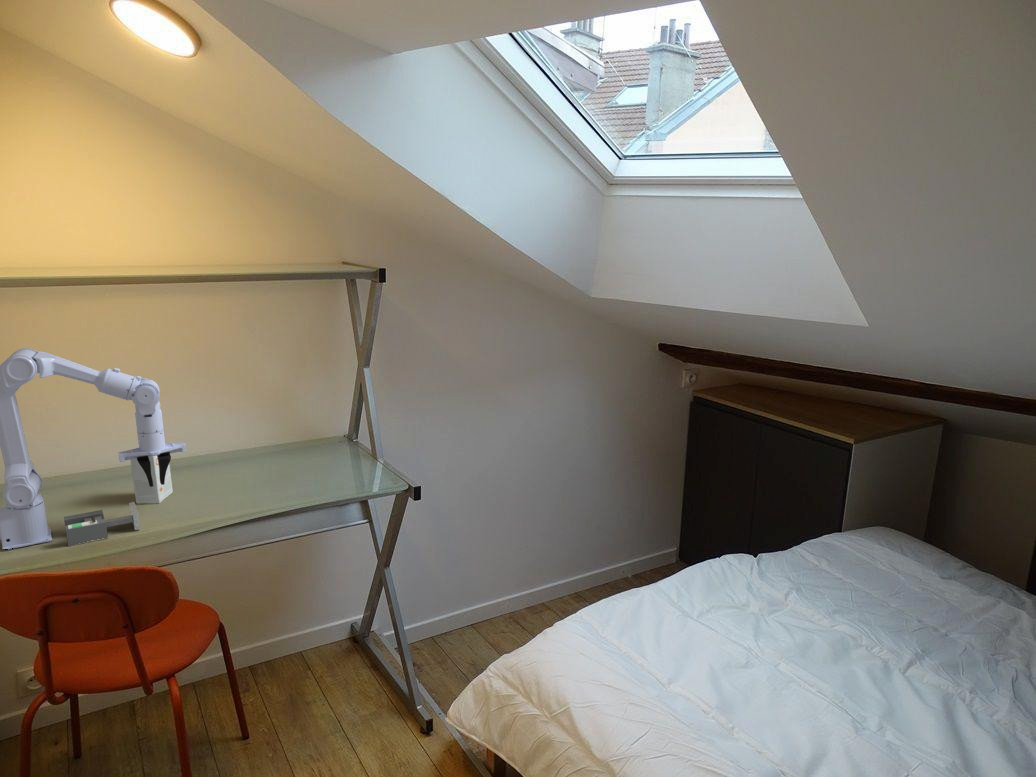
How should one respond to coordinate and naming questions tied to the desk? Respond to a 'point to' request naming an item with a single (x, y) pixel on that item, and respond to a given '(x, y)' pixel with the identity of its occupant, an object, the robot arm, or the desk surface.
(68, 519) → the gauge housing
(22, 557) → the desk surface
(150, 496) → the small box
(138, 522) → the plunger
